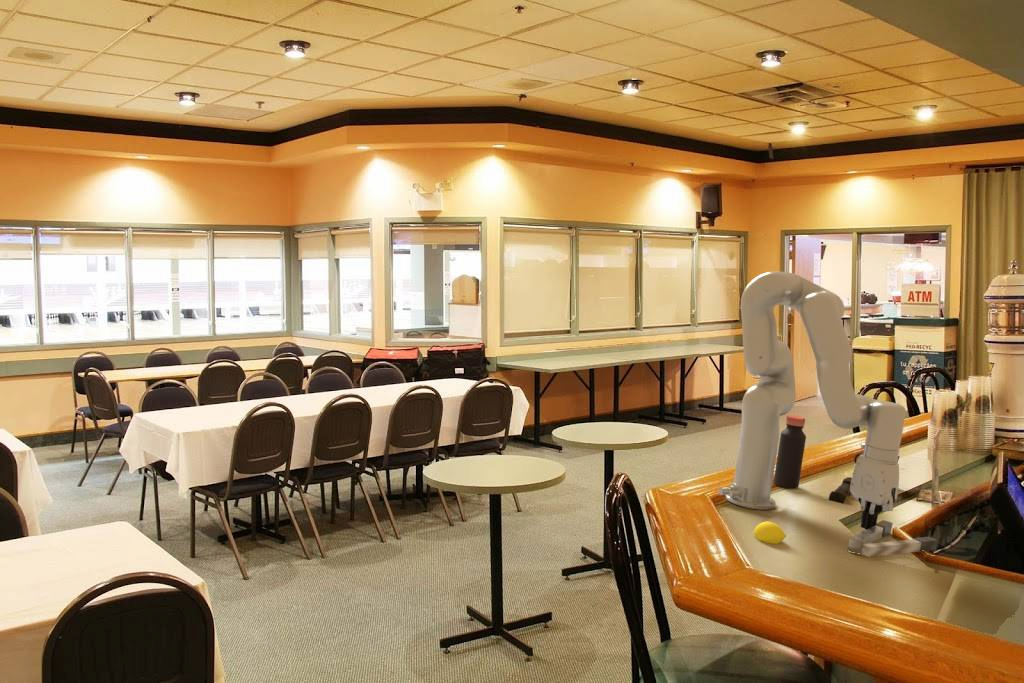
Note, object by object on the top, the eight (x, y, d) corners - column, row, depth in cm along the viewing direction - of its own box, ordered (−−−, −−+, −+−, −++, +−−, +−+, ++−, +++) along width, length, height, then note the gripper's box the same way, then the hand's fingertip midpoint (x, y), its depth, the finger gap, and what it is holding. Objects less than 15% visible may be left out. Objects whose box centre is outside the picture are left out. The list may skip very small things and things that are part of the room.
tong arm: (861, 549, 182) (863, 538, 181) (851, 545, 183) (853, 534, 183) (890, 533, 195) (892, 522, 195) (881, 530, 196) (883, 520, 196)
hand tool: (843, 508, 217) (846, 491, 217) (827, 503, 219) (830, 487, 219) (859, 494, 233) (861, 478, 232) (844, 490, 235) (847, 475, 234)
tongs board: (871, 571, 172) (874, 554, 172) (801, 536, 190) (803, 520, 190) (959, 561, 184) (962, 544, 184) (885, 528, 202) (887, 514, 202)
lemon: (750, 546, 181) (750, 522, 181) (756, 540, 186) (756, 517, 185) (782, 551, 177) (782, 527, 177) (788, 545, 182) (788, 521, 182)
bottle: (803, 488, 232) (813, 419, 229) (788, 490, 228) (798, 420, 225) (783, 480, 237) (793, 413, 235) (768, 482, 233) (778, 414, 231)
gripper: (844, 445, 198) (832, 518, 200) (896, 463, 184) (883, 541, 187) (865, 444, 201) (853, 516, 203) (919, 462, 188) (905, 539, 190)
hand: (867, 528), depth 195 cm, fingers closed
